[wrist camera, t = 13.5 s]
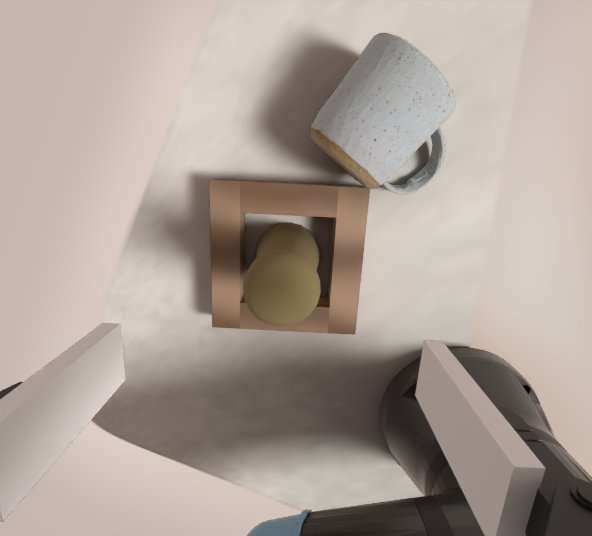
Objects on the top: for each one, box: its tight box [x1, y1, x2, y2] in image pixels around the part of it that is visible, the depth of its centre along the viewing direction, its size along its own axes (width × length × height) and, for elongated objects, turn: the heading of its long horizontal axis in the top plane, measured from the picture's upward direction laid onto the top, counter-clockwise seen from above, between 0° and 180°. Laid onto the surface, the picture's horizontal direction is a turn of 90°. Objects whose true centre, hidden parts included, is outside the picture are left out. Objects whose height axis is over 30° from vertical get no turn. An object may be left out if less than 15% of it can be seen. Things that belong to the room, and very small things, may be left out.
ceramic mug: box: [310, 33, 456, 195], centre depth 26 cm, size 11×8×8 cm
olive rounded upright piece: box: [243, 223, 321, 327], centre depth 27 cm, size 6×6×11 cm
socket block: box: [209, 179, 370, 334], centre depth 31 cm, size 13×13×2 cm
